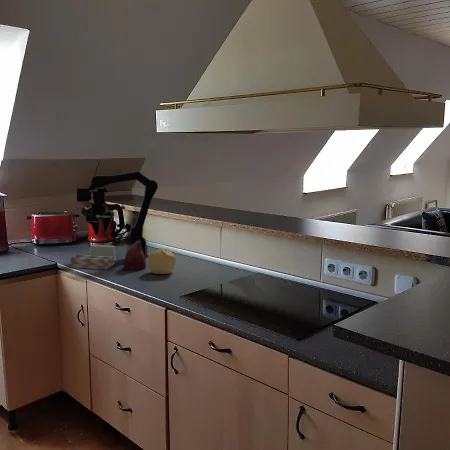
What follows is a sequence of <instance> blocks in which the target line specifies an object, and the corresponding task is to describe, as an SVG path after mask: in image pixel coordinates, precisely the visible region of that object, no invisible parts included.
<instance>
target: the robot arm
mask: <svg viewBox="0 0 450 450" xmlns="http://www.w3.org/2000/svg"><path fill="white" fill-rule="evenodd" d="M135 180H136V181H137V182H139V183H140V184H142V185H143V186H145V187H144V195H143V198H142V199H143V200H142V203H141V204H140V205H141V206H140V209H139V213H138V216H137V218H136V222H135V224H134V226H133V225H130V231H129V233H128V236H129V239H130V240H129V241H130V242H131V243H133V244H134V243H135V242H136V241H138V240H140V242H141V248H142V251H143V253H144V255H145V259H147V258H149V257H150V255H149V254H148V244H147V239H146V238H145V237H143V233H144V224H145V221H146V219H147V215H148V212H149V208H150V206H151V202H152V199H153V198H154V196H155V195H156V192H157V190H158V187H159V185H158V182H157V181H155V179H150V178H148V177H147V176H146V175H144V174H142V173H141V172H140V171H137V170H135V171H131V172H126V173H125V172H124V173H118V174H113V175H109V174H108V175H107V174H106V175H105V174H96V175H95V176H93V178H92V180H91V184H90V185H89V186H88V187H77V188H76V202H77V203H89V202H90V201H91V200H92V202H93V203H91V207H89V208H87V207H86V206H85V207H82V208H81V215H83V217H84V218H85V222H87V223H88V224H89V225H90V226H91V227H92V229H93V232H94V234H95V236H99V234H100V229H101V224H102V226H103V229H104V230H103V232H104V233H105V232H106V233H107V232H108V229H109V226H110V225H111V223H112V220H113V219H114V217H115V211H114V210H108V209H107V206H108V202H107V201H106V200H107V199H106V193H109V191H110V189H108V188H107V186H109V185H111V184H114V183H115V184H116V183H121V182H122V183H123V182H128V181H135ZM102 187H103V188H102ZM95 189H97V190H95Z"/></svg>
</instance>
